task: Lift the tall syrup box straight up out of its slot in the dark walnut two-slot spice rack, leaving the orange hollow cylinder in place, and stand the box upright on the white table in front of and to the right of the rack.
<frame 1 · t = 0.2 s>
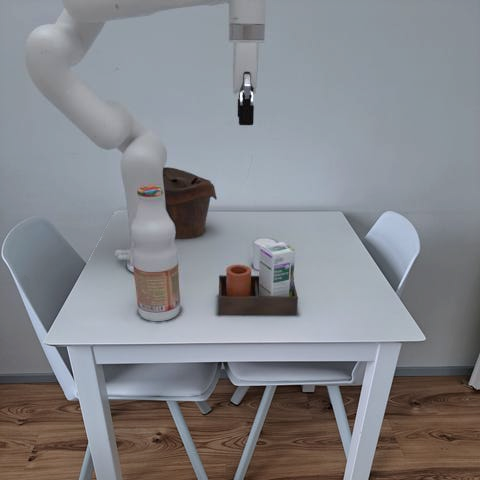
hand: (245, 121, 113), 37 cm above the table, tool pointing down, fingers open, 9 cm apart
spice rack: (256, 305, 114), on the table
fruit juice: (159, 312, 111), on the table
orange hollow cylinder: (238, 305, 114), resting in spice rack
syrup box: (274, 306, 114), resting in spice rack
brown tapered bucket: (184, 231, 153), on the table
white tapered cylinder: (263, 267, 132), on the table
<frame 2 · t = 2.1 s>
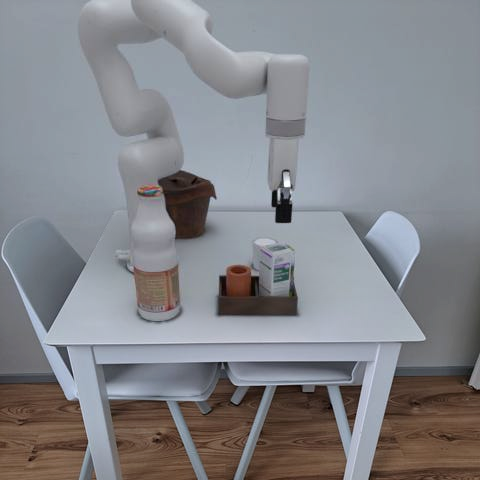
hand: (280, 214, 103), 22 cm above the table, tool pointing down, fingers open, 9 cm apart
nothing on the table moved.
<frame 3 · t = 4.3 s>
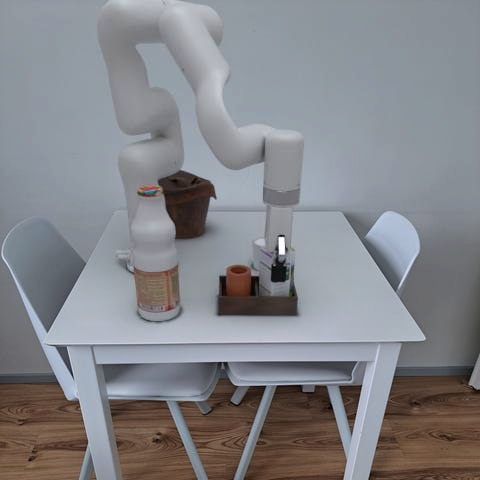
hand: (276, 272, 110), 8 cm above the table, tool pointing down, fingers closed on syrup box, 7 cm apart
syrup box: (274, 306, 114), resting in spice rack, touching gripper
everything else where it was.
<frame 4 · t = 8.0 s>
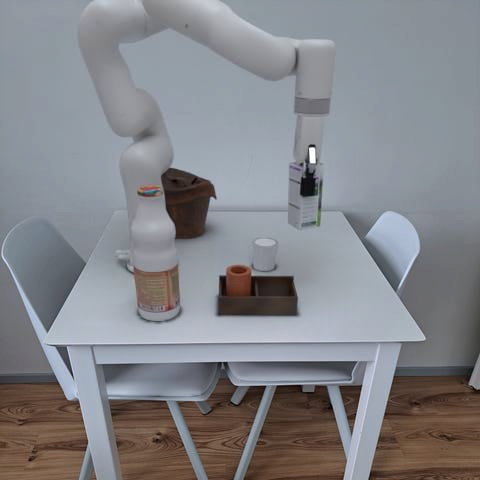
hand: (304, 189, 113), 23 cm above the table, tool pointing down, fingers closed on syrup box, 7 cm apart
syrup box: (303, 225, 117), point 15 cm above the table, touching gripper
everything else where it was.
when the fingers open (9 cm above the table, at t = 11.8 s): syrup box stays where it is, on the table.
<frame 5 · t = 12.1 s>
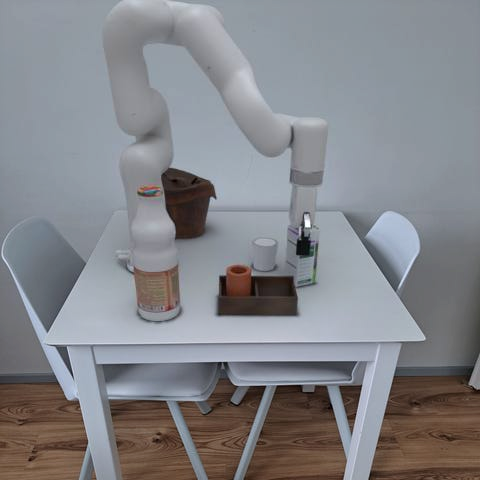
hand: (299, 246, 121), 9 cm above the table, tool pointing down, fingers open, 9 cm apart
syrup box: (299, 281, 125), on the table
everything else where it was.
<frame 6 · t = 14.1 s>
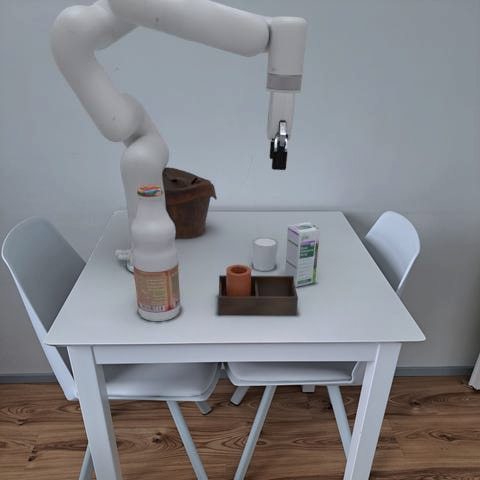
hand: (277, 164, 116), 28 cm above the table, tool pointing down, fingers open, 9 cm apart
nothing on the table moved.
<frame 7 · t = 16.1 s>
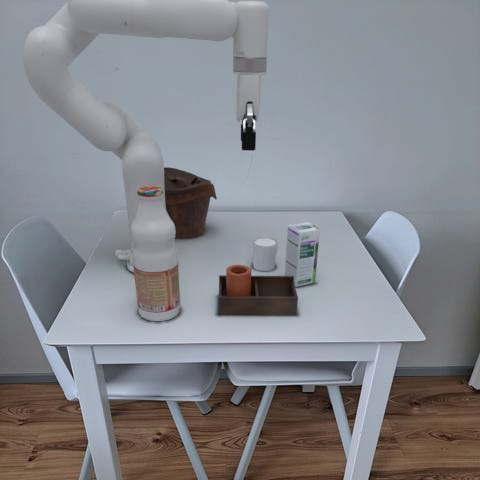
hand: (247, 145, 120), 30 cm above the table, tool pointing down, fingers open, 9 cm apart
nothing on the table moved.
at the end: syrup box inside the target area (0.6 cm from its centre), on the table; syrup box tilted 0°; the gripper is holding nothing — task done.
